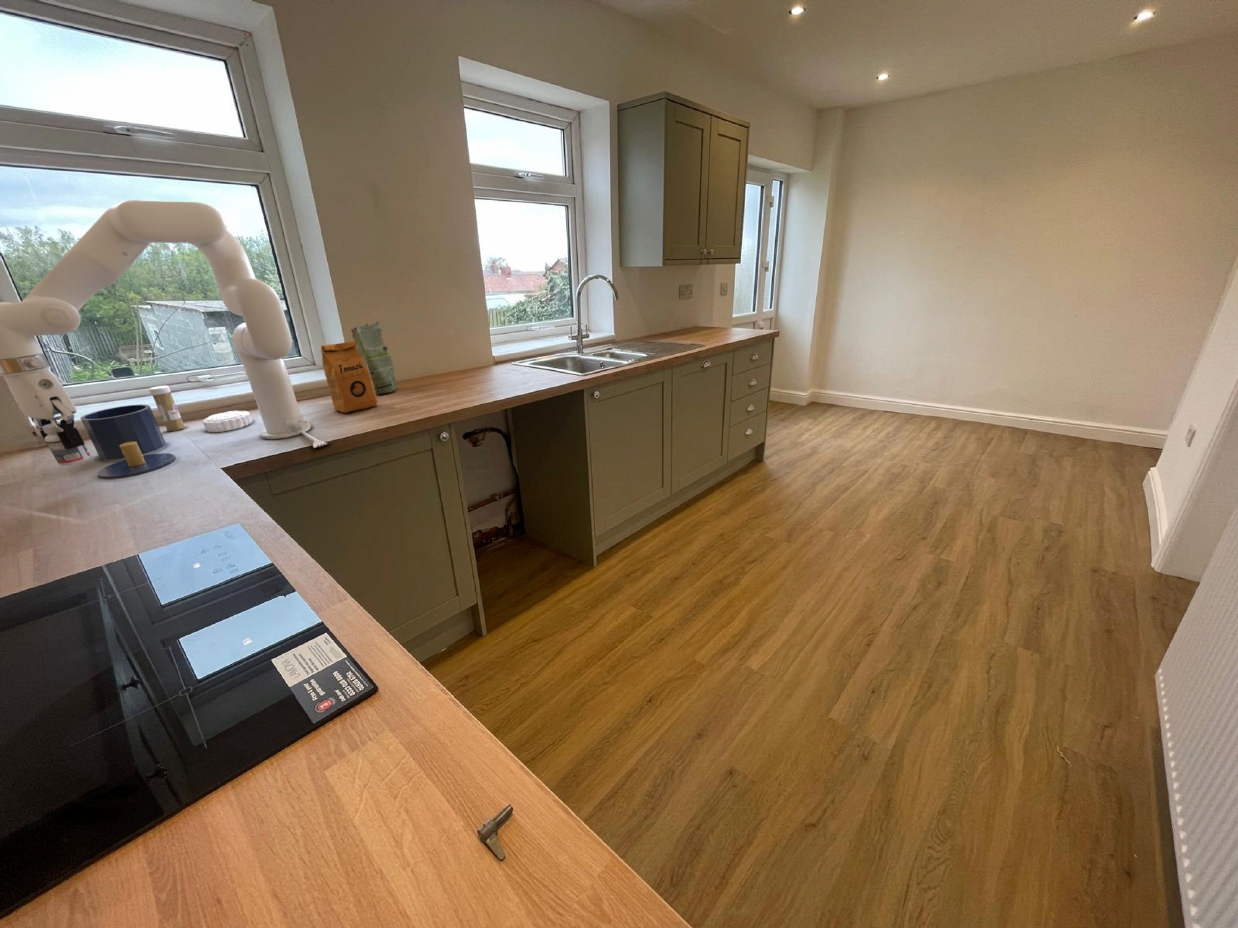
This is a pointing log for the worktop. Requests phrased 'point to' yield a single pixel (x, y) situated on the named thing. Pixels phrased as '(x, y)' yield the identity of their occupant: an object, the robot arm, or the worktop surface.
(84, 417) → the tin
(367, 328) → the pouch
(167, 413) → the sprinkles bottle
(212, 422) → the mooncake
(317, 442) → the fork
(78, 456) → the pill bottle
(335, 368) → the coffee package
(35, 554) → the worktop surface
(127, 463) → the tin lid
